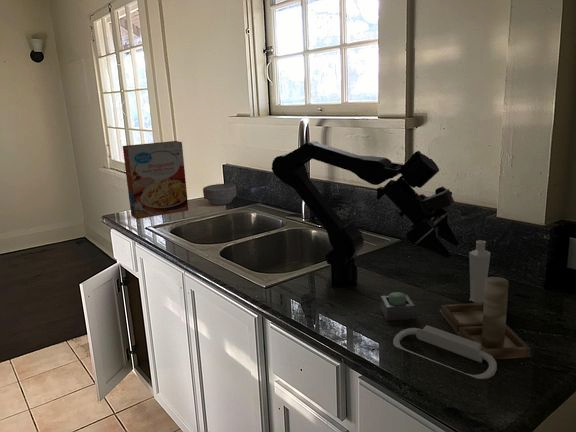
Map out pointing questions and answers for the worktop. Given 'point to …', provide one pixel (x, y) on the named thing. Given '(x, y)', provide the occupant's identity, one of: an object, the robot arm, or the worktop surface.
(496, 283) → the wooden billet
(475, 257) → the perfume bottle
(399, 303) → the button
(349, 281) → the robot arm
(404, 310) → the button housing
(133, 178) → the pasta box
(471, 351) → the oval loop handle
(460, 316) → the divided wooden tray
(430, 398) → the worktop surface
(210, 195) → the paper bowls
